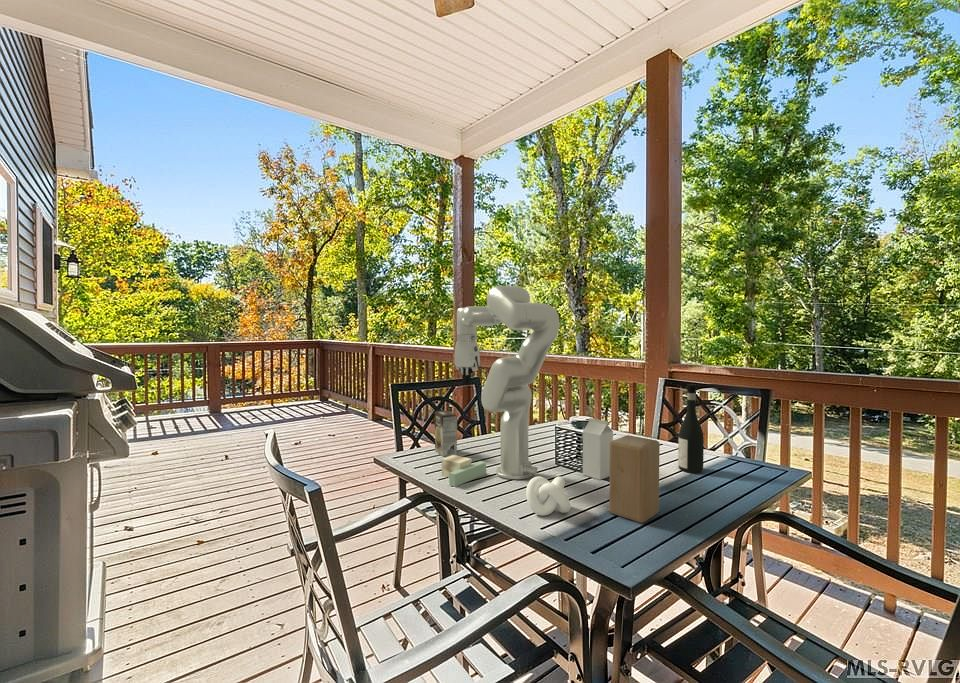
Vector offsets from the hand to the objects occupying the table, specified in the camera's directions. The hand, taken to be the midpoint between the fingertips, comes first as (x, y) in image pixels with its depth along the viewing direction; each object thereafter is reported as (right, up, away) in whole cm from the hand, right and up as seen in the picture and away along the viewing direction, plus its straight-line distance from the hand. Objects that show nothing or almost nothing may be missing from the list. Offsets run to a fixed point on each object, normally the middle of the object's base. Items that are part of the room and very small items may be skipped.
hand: (466, 384), depth 183 cm
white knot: (+25, -30, -56) cm, 68 cm away
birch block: (-3, -28, -28) cm, 40 cm away
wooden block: (+47, -30, -59) cm, 81 cm away
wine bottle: (+79, -28, -23) cm, 87 cm away
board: (+1, -28, -31) cm, 42 cm away
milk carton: (+45, -28, -28) cm, 60 cm away
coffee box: (-8, -27, 0) cm, 29 cm away
